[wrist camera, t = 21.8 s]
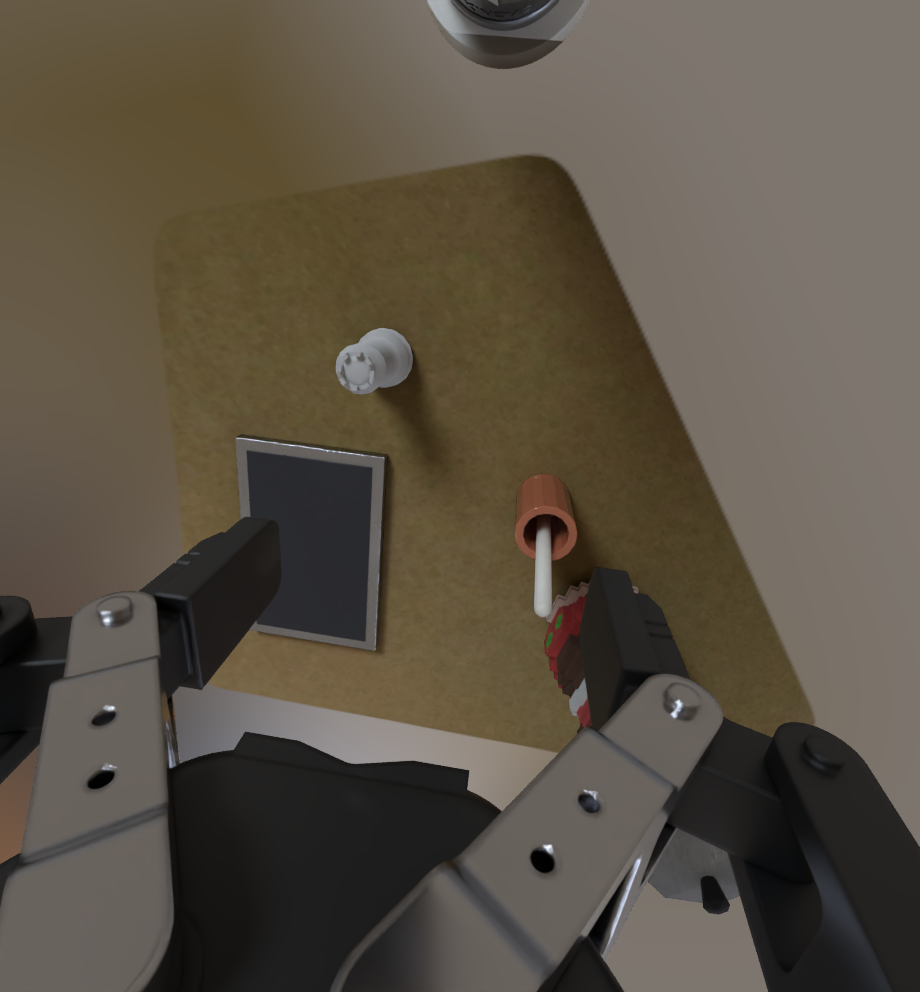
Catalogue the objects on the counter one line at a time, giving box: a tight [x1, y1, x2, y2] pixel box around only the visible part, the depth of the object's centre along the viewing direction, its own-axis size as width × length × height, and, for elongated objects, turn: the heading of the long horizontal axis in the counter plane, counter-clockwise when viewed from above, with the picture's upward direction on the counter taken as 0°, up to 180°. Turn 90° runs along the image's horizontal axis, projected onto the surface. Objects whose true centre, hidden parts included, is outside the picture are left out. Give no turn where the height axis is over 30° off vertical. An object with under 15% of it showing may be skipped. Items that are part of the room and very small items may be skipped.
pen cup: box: [515, 474, 577, 561], centre depth 40 cm, size 4×4×7 cm
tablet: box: [235, 434, 387, 651], centre depth 47 cm, size 20×13×1 cm, turn 174°
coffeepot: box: [648, 829, 740, 914], centre depth 41 cm, size 15×9×18 cm, turn 111°
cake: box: [544, 582, 639, 734], centre depth 38 cm, size 11×9×18 cm
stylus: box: [534, 514, 552, 617], centre depth 37 cm, size 1×1×13 cm
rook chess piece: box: [336, 328, 413, 394], centre depth 36 cm, size 4×4×8 cm
